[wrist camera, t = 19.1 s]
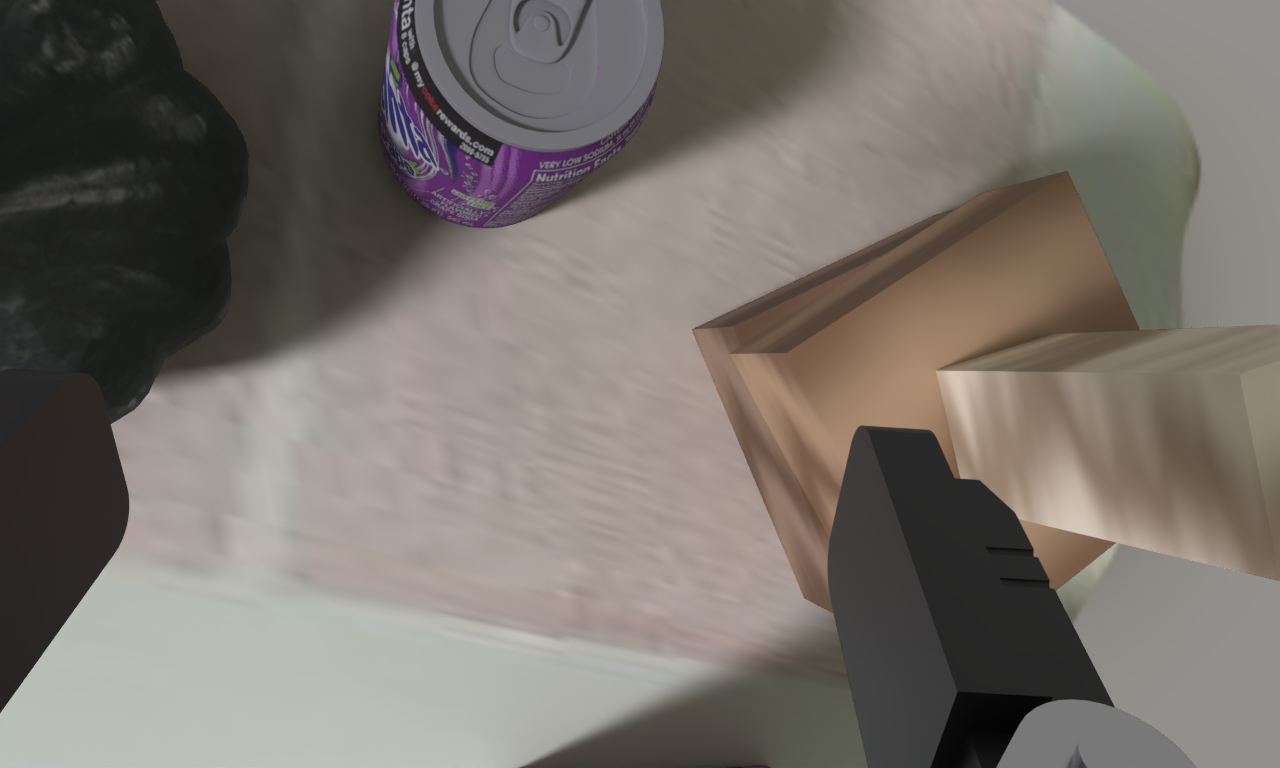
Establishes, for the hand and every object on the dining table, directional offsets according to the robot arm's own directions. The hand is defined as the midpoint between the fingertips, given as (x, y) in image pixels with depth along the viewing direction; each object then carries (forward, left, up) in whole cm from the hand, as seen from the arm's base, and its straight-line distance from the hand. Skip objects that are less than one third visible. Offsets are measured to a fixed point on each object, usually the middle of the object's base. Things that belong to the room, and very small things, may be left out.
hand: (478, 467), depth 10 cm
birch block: (+8, +18, -16) cm, 25 cm away
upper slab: (+8, +18, -21) cm, 28 cm away
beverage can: (-8, +6, -25) cm, 27 cm away
